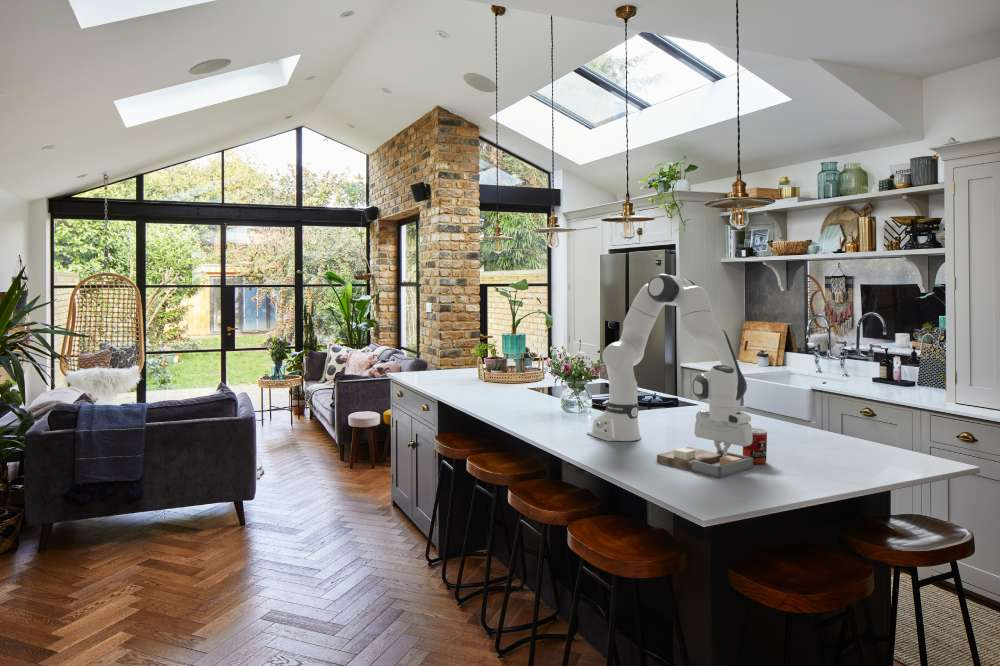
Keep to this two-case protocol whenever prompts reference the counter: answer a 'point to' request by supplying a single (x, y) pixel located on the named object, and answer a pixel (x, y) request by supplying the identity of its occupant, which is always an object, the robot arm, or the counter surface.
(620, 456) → the counter surface
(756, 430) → the canned food
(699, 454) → the board
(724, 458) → the tile terracotta
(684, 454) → the tile cream
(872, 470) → the counter surface
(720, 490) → the counter surface
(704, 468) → the tray
